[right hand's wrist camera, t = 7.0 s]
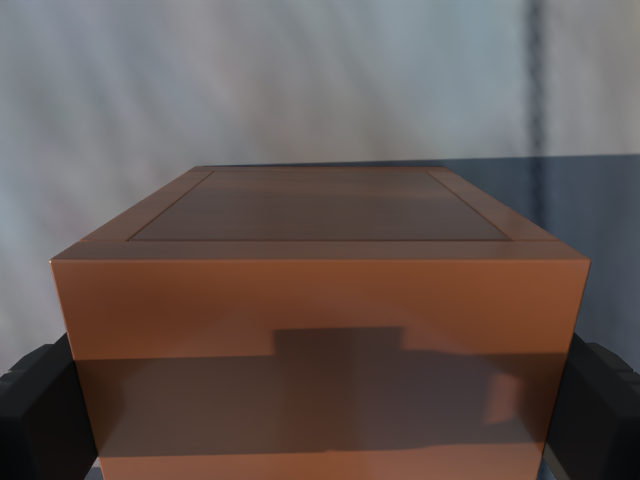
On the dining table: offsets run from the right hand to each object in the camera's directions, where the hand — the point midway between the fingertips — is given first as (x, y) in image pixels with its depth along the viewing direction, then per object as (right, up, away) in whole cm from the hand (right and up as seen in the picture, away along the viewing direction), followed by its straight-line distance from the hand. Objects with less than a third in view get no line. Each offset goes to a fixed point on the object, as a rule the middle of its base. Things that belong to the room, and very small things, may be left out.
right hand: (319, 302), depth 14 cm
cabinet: (0, -4, +7) cm, 7 cm away
